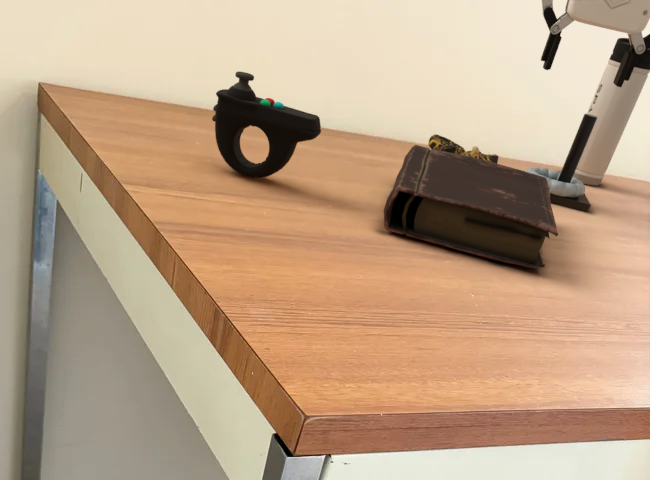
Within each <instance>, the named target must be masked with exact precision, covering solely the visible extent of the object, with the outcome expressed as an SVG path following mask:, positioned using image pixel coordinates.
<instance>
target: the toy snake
mask: <svg viewBox="0 0 650 480" xmlns="http://www.w3.org/2000/svg"><path fill="white" fill-rule="evenodd" d="M427 145H428V146H429V147H428V148H429V149H430V150H431V149H434V150H439V151H444V152H450V153H454V154H459V155H464V156H468V157H473V158H478V159H482V160H485V161H489V162H493V163H497V164H498V162H499V155H498V154H485V153H482V152H481V151H480V149H479V147H478V146H476V145H475V146H473V147H472V148H471V150H467V151H466V150H465V148H464V147H463V146H461V145H459V143H456V142H454V141H453V140H451V139H449V138H447V137H445V136H442V135H439V134H436V133H434V134H433V135H431V136H430V137H429V139H428V142H427Z"/></svg>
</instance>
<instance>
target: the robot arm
mask: <svg viewBox="0 0 650 480" xmlns="http://www.w3.org/2000/svg"><path fill="white" fill-rule="evenodd" d="M553 2H554V0H541V9H542V16H543V19H544V21H545V24H546V25H547V28H548V31H549V34H548V37H547V40H546V43H545V46H544V48H543V51H542V53H541V56H540V57H541V58H540V61H541V62H543V65H542V68H543V69H544V70H546V71H549V70H551V69H552V66H553V63H554V61H555V57H556V55H557V52H558V49H559V47H560V45H561V44H560V43H561V40H562V36H561V35H562V32H563V30H564V29H565V28H567V27H568V26H569V25H570V24H572V23H573V22H574V21H575V22H577V23H582V24H585V25H590V26H594V27H598V28H602V29H606V30H611V31H616V32H620V33H624V34H627V36H628V37H627V38H629V41H630V44H631V46H630V48H629V50H627V51H626V52H625V54H624V56H623V59H622V61H621V64H620V66H619V69H618V71H617V74H616V76H615V79H614V82H613V83H614V84H615V85H616V86H617V87H622V85H623V83H624V80H626V81H628V80H629V79H630V76H631V74H632V72H633V69H634V67H635V64H636V62H637V59H638V57H639V55H640V54H642V53H643V52H644V51H645V50H647V49H648V48H650V33H648V34H647V35H646V36H643V33H642V32H643V31H644V30H645V29H646V27H647V25H648V23H649V20H650V0H567V1H566V4H565V10H564V13H562V14H561V15H560V16H559V17H557V16H556V14H555V11H554V3H553Z"/></svg>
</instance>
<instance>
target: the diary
mask: <svg viewBox="0 0 650 480" xmlns="http://www.w3.org/2000/svg"><path fill="white" fill-rule="evenodd" d="M383 227H384V228H385V231H387V232H388V231H389V232H391V233H392V232H393V233H395V234H400V235H405V236H406V237H410V238H414V239H418V240H420V241H425V242H428V243H433V244H435V245H439V246H442V247H447V248H450V249H454V250H457V251H461V252H464V253H468V254H472V255H476V256H479V257H481V258H487V259H490V260H493V261H497V262H502V263H506V264H512V265H516V266H520V267H526V268H529V269H530V268H531V269H543V268H545V267H546V264H545V263H543V260H542V255H541V252H540V251H541V249H542V247H543V244H544V241H545V240H546V238H547V239H549V240H550V239H551V237H550V234H551V235H554V236H555V237H558V236H559V231H558V227H557V223H556V219H555V216H554V211H553V207H552V203H551V201H550V191H549V186H548V182H547V179H546V177H543V176H539V175H535V174H532V173H528V172H525V170H523V169H518V168H515V167H512V166H507V165H503V164H500V163H498V162H497V163H493V162H489V161H485V160H482V159H478V158H473V157H468V156H464V155H459V154H454V153H450V152H444V151H439V150H434V149H431V148H430V147H426V146H423V145H418V144H414V145H413V146H412V147H411V148H410V149H409V150H408V152H407V153H406V155H405V156H404V159H403V162H402V166H401V167H400V169H399V172H398V173H397V175H396V177H395V181H394V184H393V187H392V190H391V191H390V193H389V195H388V196H387V199H386V202H385V205H384V209H383Z"/></svg>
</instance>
